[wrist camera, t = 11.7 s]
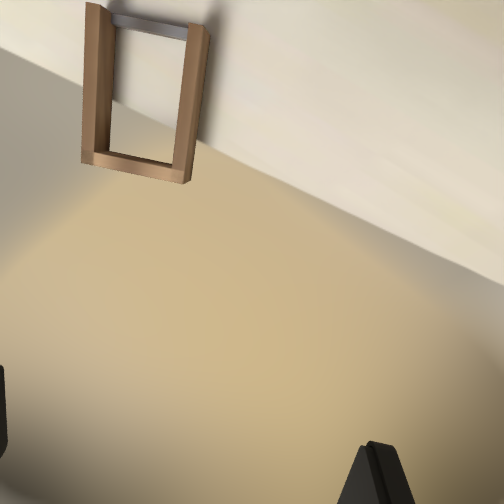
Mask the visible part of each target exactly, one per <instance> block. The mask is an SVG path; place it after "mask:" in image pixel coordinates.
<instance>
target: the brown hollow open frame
mask: <svg viewBox="0 0 504 504" xmlns="http://www.w3.org/2000/svg"><path fill="white" fill-rule="evenodd" d="M116 27H120V28H125V29H130V30H135V31H139V32H144V33H149V34H154V35H159V36H164V37H169V38H174V39H179V40H184V41H187V42H186V50H185V59H184V68H183V76H182V85H181V94H180V102H179V111H178V120H177V128H176V138H175V146H174V154H173V164H169V163H163V162H159V161H154V160H150V159H145V158H140V157H135V156H130V155H126V154H121V153H116V152H112V151H109V147H110V127H111V111H112V93H113V75H114V57H115V39H116ZM209 42H210V34H209V33H208V32H207V30H206V29H205V28H204V26H203V25H198V24H193V23H189V24H188V28H183V27H179V26H174V25H169V24H164V23H159V22H154V21H149V20H144V19H139V18H134V17H129V16H124V15H120V14H115V13H111V12H110V11H108V10H107V9H105V8H104V7H103V6H101V5H99V4H94V3H89V2H86V11H85V45H84V79H83V112H82V113H83V114H82V147H81V163H84V164H89V165H94V166H99V167H103V168H108V169H113V170H117V171H122V172H127V173H131V174H136V175H141V176H146V177H150V178H155V179H160V180H165V181H170V182H174V183H179V184H185V183H187V182H188V181H190V180H191V176H192V168H193V161H194V154H195V146H196V139H197V131H198V124H199V117H200V109H201V102H202V94H203V87H204V80H205V72H206V65H207V57H208V50H209Z"/></svg>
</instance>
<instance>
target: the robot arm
mask: <svg viewBox="0 0 504 504" xmlns="http://www.w3.org/2000/svg"><path fill="white" fill-rule="evenodd" d="M6 419H7V418H6V400H5V381H4V368H3V366H2V365H0V458H1V457H2V455H3V453H4V452H5V450H6V447H7V442H8V439H7V438H8V437H7V420H6ZM337 504H415V502H414V499H413V496H412V493H411V490H410V488H409V485H408V482H407V479H406V476H405V474H404V471H403V468H402V465H401V463H400V460H399V457H398V454H397V451H396V449H395V448H394V447H393V446H392V445H387V444H383V443H378V442H374V441H369V442H368V443H367V445H366V446H363V445H361V446H360V448H359V450H358V452H357V455H356V457H355V460H354V462H353V465H352V467H351V470H350V472H349V475H348V477H347V480H346V482H345V485H344V487H343V490H342V493H341V495H340V498H339V500H338V503H337Z"/></svg>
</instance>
